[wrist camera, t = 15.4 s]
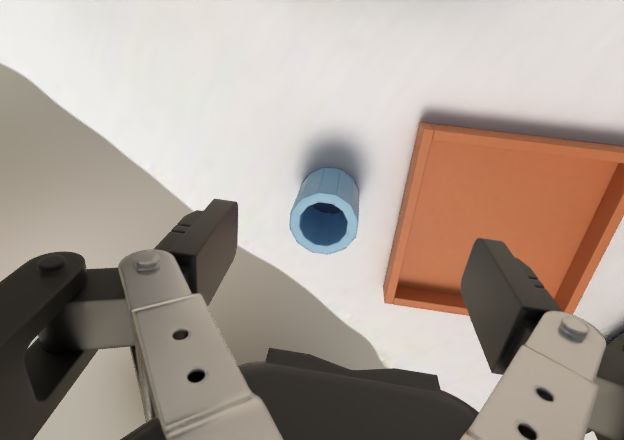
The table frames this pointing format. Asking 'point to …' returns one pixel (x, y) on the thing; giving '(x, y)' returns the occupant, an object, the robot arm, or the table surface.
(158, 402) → the robot arm
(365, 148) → the table surface
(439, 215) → the tray
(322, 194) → the blue hollow tube
